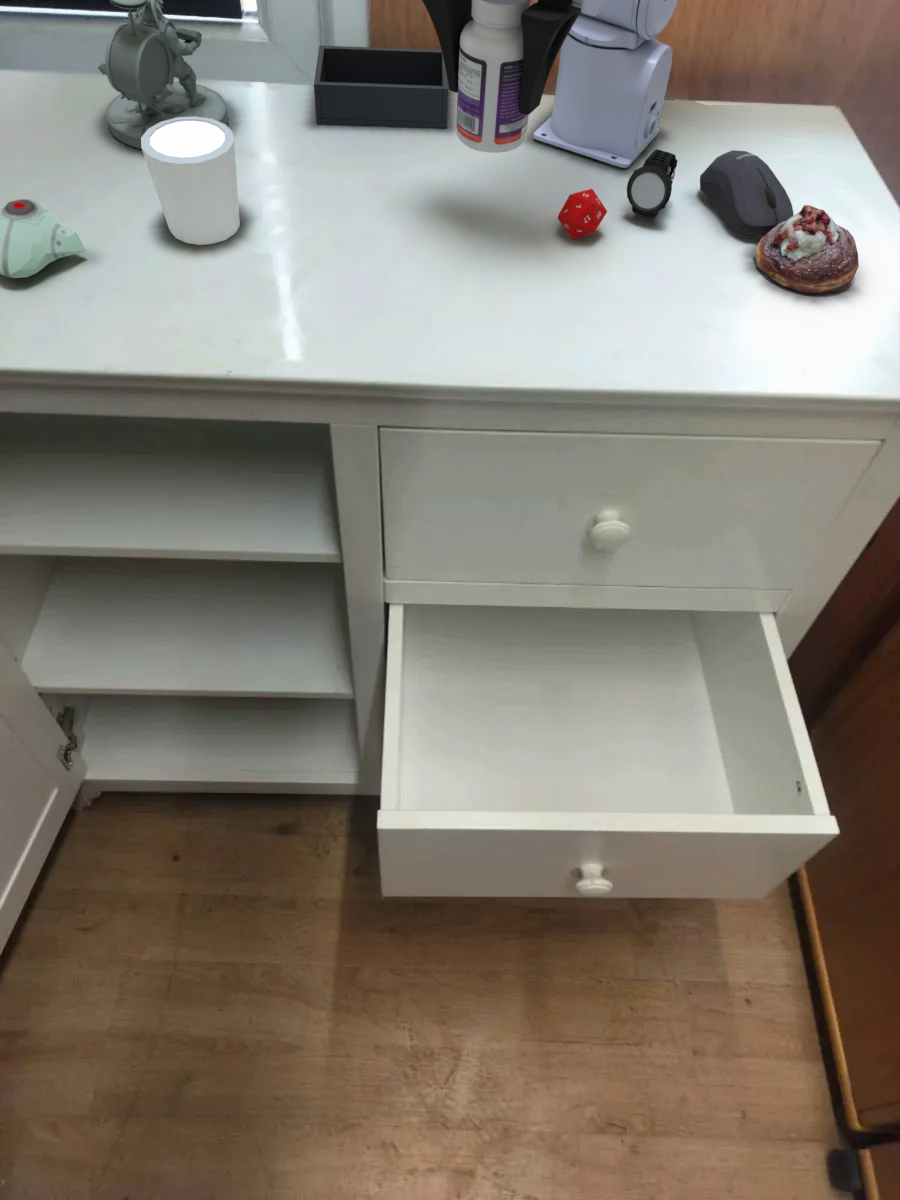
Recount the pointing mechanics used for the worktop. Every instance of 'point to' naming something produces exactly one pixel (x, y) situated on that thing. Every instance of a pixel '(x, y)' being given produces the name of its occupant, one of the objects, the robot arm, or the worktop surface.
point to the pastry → (808, 253)
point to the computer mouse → (746, 192)
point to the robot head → (32, 239)
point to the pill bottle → (492, 77)
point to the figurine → (153, 73)
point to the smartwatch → (652, 184)
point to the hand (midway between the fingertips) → (493, 97)
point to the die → (582, 213)
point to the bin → (381, 87)
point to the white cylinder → (194, 177)
